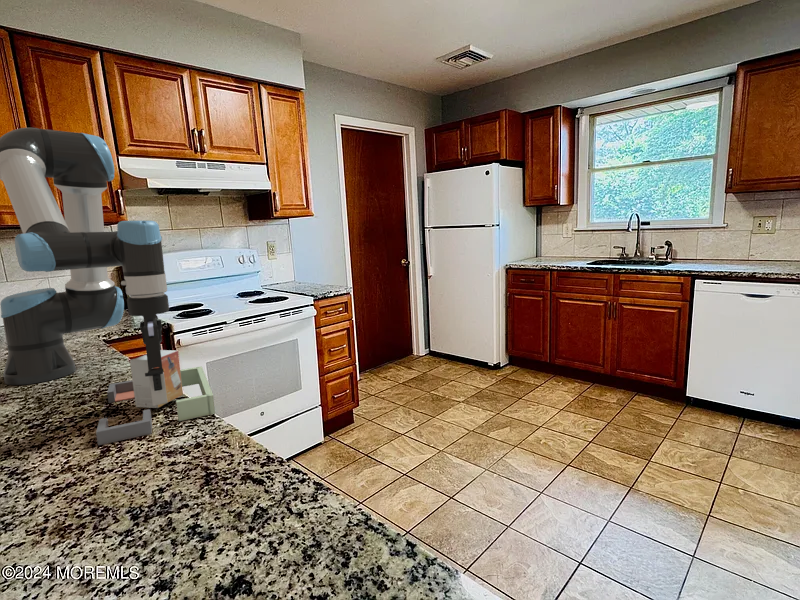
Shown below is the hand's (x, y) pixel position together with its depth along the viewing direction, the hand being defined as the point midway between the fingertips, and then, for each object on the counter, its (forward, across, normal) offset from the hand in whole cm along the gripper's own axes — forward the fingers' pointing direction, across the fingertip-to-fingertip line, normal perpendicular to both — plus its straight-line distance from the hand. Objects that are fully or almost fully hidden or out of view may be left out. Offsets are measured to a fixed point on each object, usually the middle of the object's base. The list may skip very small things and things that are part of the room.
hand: (159, 396), depth 95 cm
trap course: (+2, 0, 0) cm, 2 cm away
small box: (+1, 0, 0) cm, 1 cm away
